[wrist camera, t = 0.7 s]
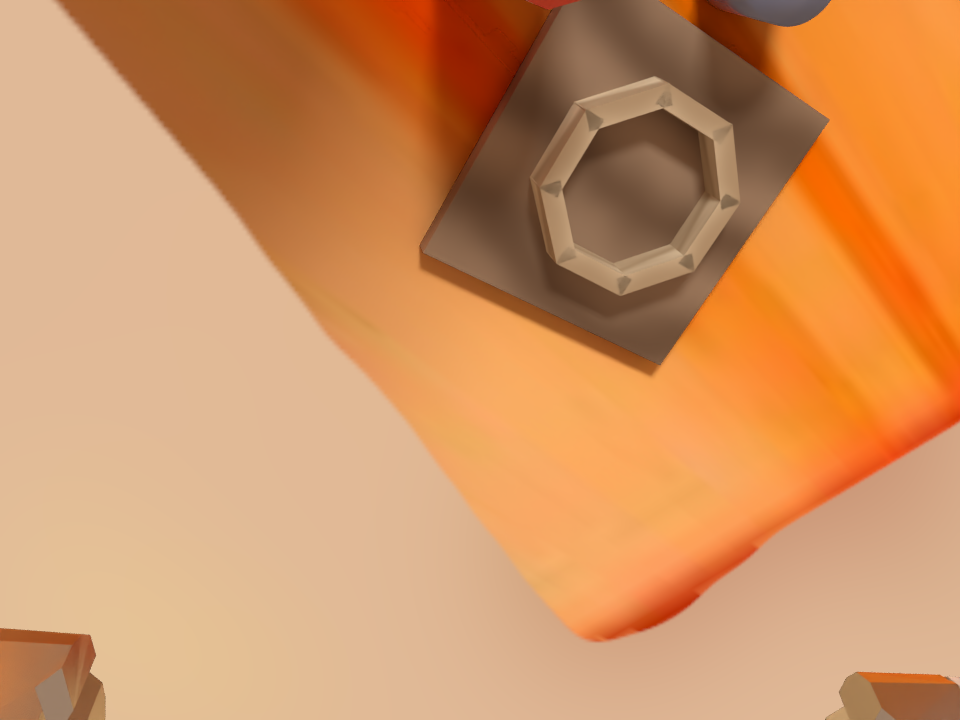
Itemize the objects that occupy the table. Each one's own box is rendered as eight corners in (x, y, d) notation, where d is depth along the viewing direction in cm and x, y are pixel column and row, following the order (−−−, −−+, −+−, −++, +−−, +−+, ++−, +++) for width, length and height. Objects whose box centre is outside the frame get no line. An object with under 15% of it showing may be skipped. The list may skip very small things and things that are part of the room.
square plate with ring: (584, -48, 46) (605, -44, 44) (818, 115, 54) (849, 127, 51) (419, 245, 52) (429, 265, 49) (652, 356, 59) (672, 379, 57)
